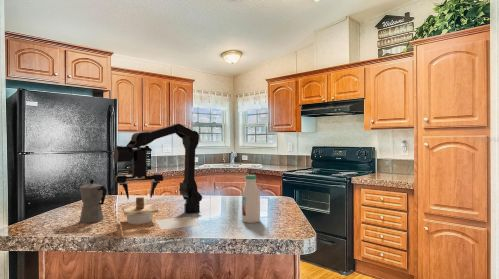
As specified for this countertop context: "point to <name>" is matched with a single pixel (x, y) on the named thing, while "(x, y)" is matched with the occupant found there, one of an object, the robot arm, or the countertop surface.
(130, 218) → the ramekin
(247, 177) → the milk bottle
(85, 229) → the countertop surface
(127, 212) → the board
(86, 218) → the coffeepot
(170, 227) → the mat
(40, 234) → the countertop surface
